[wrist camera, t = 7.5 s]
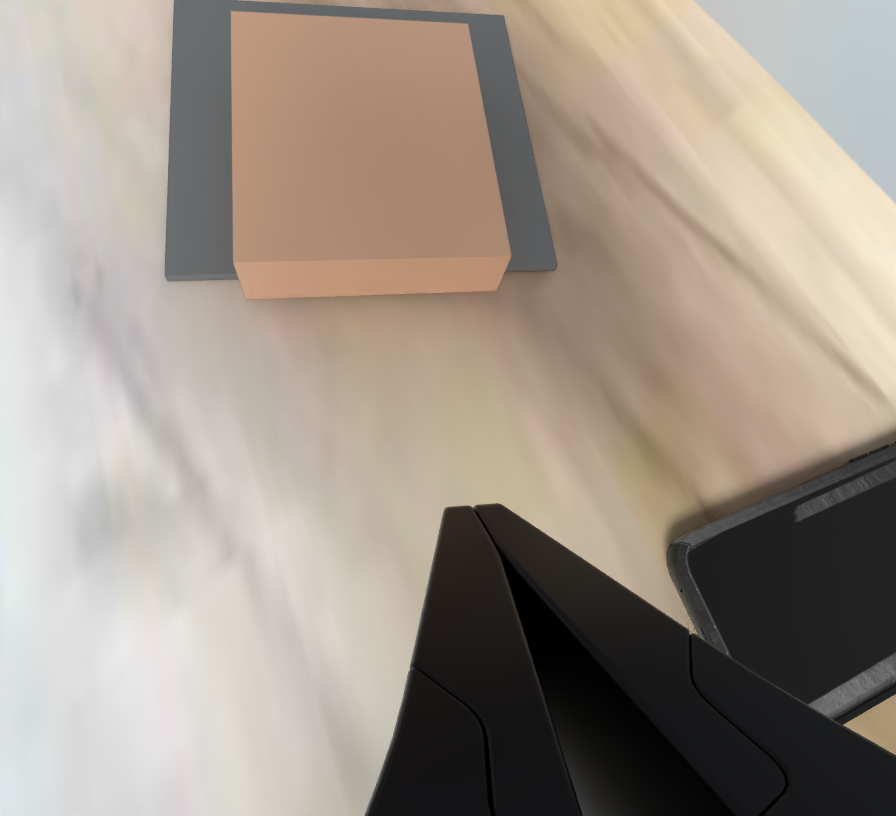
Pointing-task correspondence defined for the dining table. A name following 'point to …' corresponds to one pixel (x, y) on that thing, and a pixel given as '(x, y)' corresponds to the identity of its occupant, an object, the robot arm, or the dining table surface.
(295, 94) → the glazed tile
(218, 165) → the charcoal mat
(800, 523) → the phone
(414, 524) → the dining table surface
